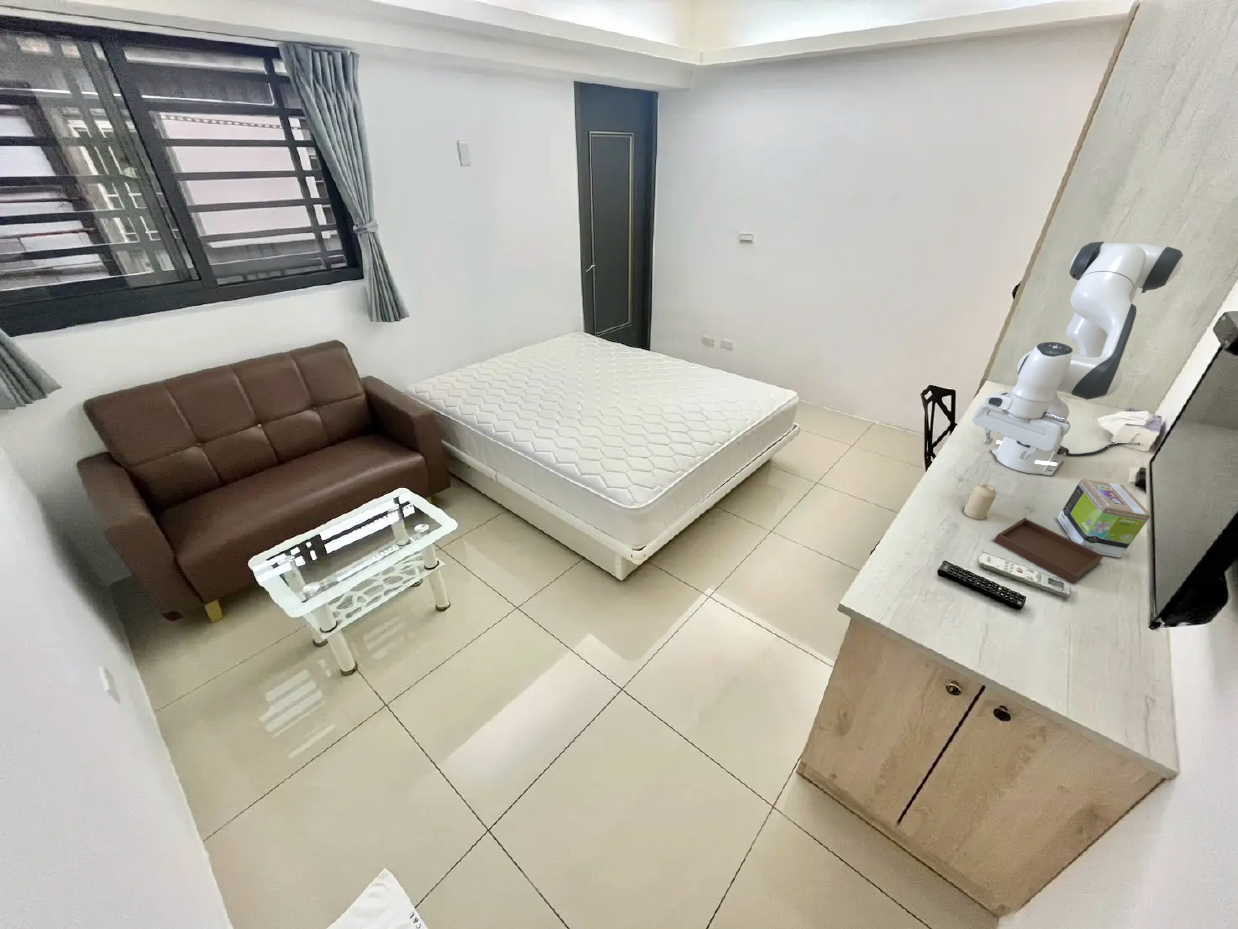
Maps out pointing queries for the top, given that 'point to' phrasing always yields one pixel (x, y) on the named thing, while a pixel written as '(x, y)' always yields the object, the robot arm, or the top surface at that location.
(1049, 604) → the top surface
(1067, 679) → the top surface
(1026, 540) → the tray
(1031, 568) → the top surface
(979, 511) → the candle
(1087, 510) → the tea box
